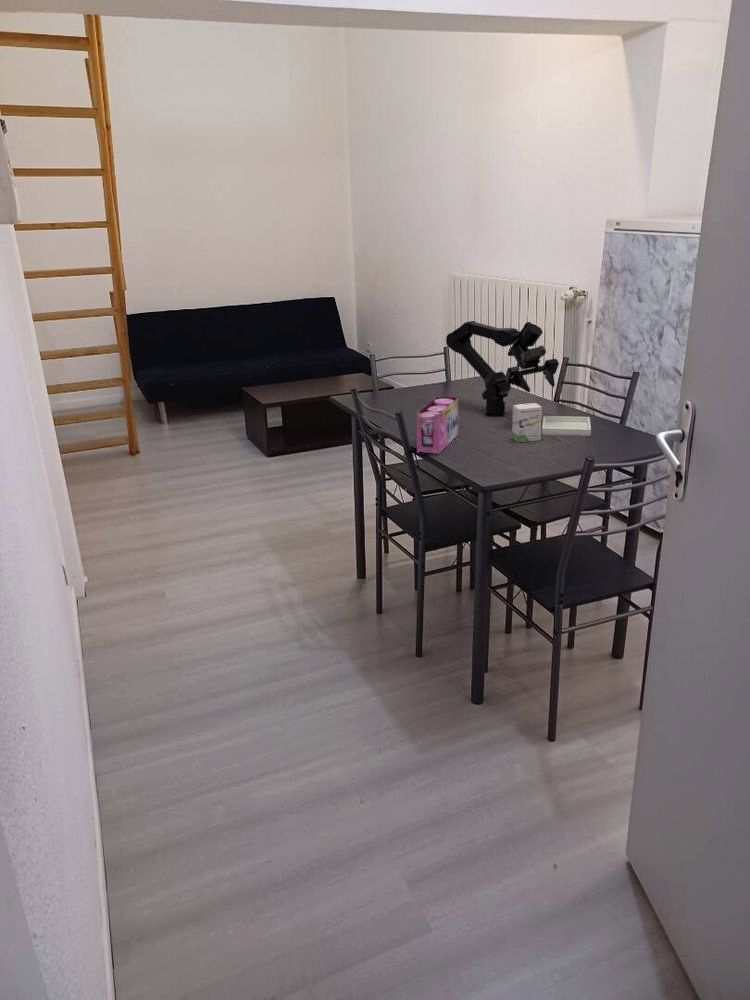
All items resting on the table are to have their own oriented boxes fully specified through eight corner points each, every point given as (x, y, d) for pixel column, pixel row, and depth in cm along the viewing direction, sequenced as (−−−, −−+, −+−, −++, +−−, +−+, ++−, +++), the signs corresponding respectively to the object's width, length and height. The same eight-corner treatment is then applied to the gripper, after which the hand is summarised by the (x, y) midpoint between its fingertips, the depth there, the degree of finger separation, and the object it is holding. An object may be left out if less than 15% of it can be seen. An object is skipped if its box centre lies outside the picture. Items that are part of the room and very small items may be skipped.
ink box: (517, 443, 251) (518, 408, 247) (511, 438, 256) (512, 404, 252) (541, 440, 253) (542, 406, 249) (535, 436, 257) (536, 402, 253)
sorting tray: (541, 435, 258) (542, 428, 257) (543, 422, 272) (543, 415, 271) (590, 436, 254) (591, 429, 253) (589, 423, 269) (589, 416, 268)
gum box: (438, 456, 242) (437, 415, 237) (414, 454, 245) (413, 413, 240) (459, 435, 262) (459, 397, 257) (437, 433, 265) (436, 395, 260)
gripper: (504, 344, 258) (522, 377, 250) (553, 335, 262) (572, 367, 254) (497, 367, 267) (515, 400, 259) (545, 357, 271) (563, 389, 263)
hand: (541, 388), depth 259 cm, fingers open, 9 cm apart
